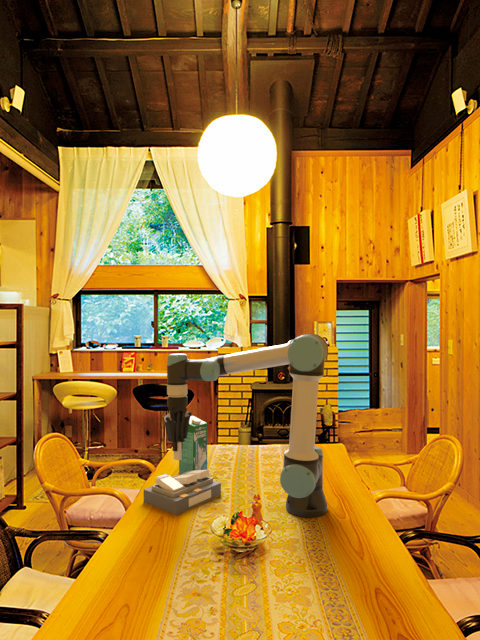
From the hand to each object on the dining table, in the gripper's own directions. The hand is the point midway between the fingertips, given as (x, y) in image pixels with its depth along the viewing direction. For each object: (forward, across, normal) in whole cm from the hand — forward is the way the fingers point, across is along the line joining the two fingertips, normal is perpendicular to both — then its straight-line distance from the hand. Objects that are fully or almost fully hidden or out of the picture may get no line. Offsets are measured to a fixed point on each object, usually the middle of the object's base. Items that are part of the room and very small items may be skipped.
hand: (177, 459), depth 173 cm
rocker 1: (+11, 0, -5) cm, 12 cm away
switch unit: (+18, -7, -4) cm, 20 cm away
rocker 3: (+11, -14, -4) cm, 18 cm away
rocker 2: (+11, -7, -4) cm, 14 cm away
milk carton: (+18, -31, -22) cm, 42 cm away
